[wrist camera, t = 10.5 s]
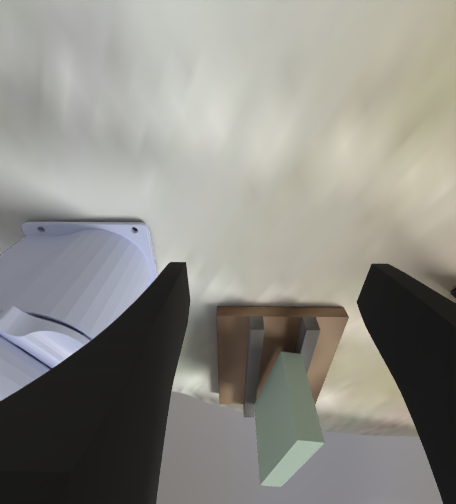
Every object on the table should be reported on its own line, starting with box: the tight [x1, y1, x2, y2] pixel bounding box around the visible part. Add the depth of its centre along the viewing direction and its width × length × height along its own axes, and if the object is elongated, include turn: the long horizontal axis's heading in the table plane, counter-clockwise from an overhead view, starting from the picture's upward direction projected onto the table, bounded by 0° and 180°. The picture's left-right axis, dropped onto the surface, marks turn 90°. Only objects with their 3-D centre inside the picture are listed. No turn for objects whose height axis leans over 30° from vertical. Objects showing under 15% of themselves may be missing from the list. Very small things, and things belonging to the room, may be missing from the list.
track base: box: [217, 306, 349, 417], centre depth 27 cm, size 12×16×3 cm
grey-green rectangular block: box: [254, 352, 325, 487], centre depth 23 cm, size 2×10×7 cm, turn 169°
